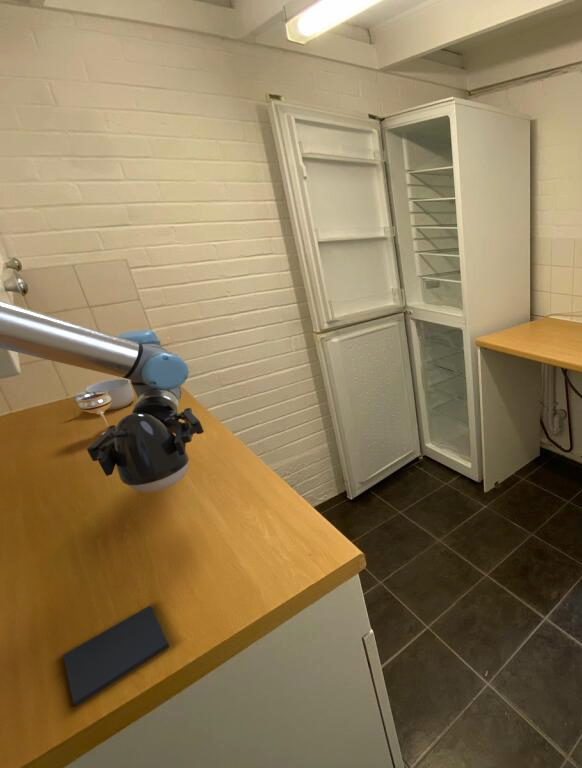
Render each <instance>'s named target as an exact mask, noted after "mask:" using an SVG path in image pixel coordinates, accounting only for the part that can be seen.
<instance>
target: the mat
mask: <svg viewBox="0 0 582 768" xmlns="http://www.w3.org/2000/svg"><path fill="white" fill-rule="evenodd" d="M168 648H170V644H169V642H168V640H167V637H166V635H165V633H164V631H163V629H162V627H161V625H160V623H159V620H158V618H157V616H156V614H155V612H154V610H153V608H152V606H151V605H149V606H146V607H145V608H143V609H142V610H140V611H138V612H136V613H134V614H132V615H131V616H129V617H127V618H125V619H124V620H122V621H120V622H119V623H116V624H115V625H113V626H112V627H110V628H108V629H106V630H105V631H102V632H101V633H99V634H97V635H96V636H94V637H92V638H90V639H89V640H87V641H85V642H83V643H82V644H80V645H78V646H76V647H74V648H73V649H71V650H69V651H67V652H66V653H64V654H62V658H63V663H64V667H65V671H66V677H67V683H68V687H69V691H70V696H71V700H72V704H73V705H74V707H75V708H76V707H77V706H79V705H81V704H82V703H84V702H86V701H87V700H89V699H90V698H91V697H94V696H95V695H96V694H98V693H99V692H101V691H103V690H104V689H106V688H108V687H109V686H110V685H112V684H114V683H115V682H117V681H118V680H120V679H121V678H123V677H124V676H126V675H127V674H129V673H131V672H133V671H134V670H135V669H137V668H139V667H140V666H142V665H143V664H145V663H147V662H148V661H150V660H151V659H153V658H154V657H156V656H157V655H159V654H161V653H162V652H163V651H166V650H167V649H168Z"/></svg>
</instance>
